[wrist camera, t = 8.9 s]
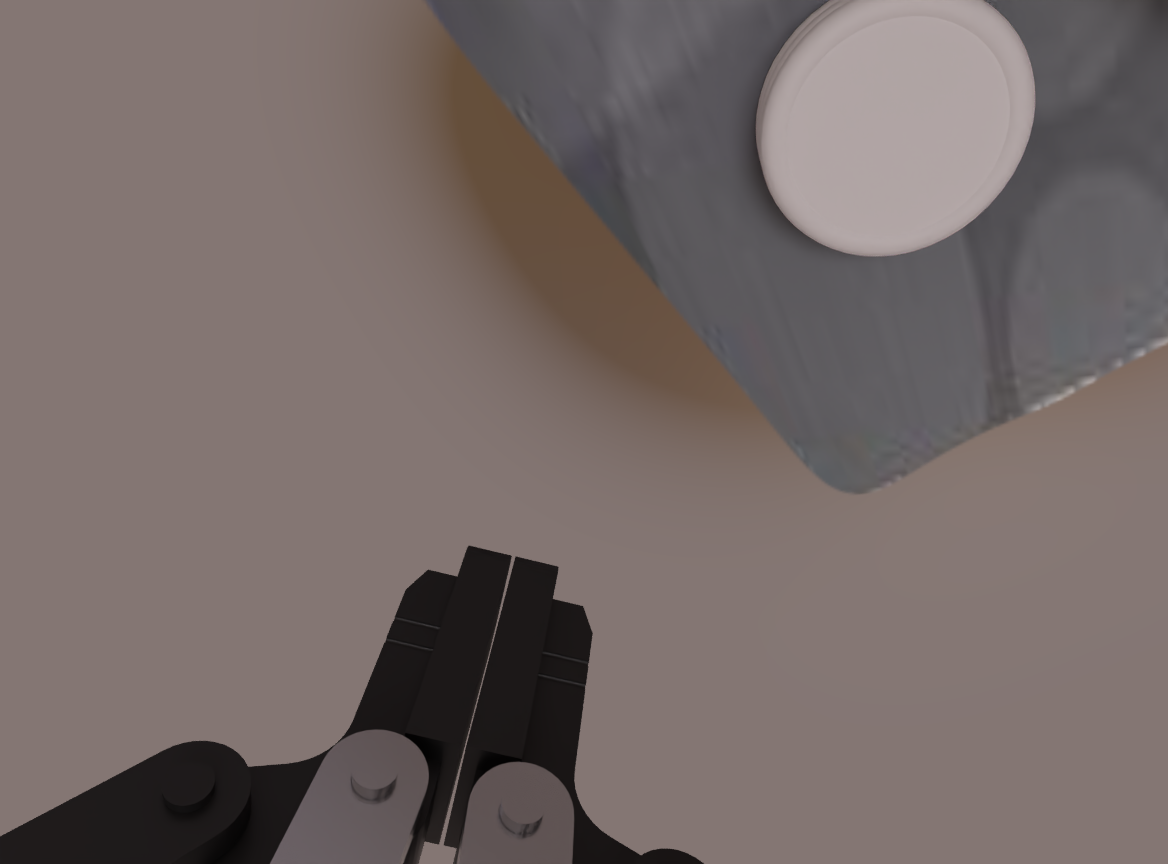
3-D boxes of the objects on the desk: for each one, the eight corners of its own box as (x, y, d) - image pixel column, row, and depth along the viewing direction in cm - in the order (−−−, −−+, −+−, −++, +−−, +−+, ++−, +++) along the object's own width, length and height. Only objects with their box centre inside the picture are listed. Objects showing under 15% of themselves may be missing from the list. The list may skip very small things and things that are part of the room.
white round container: (871, -84, 31) (891, -80, 28) (1066, 76, 33) (1102, 95, 30) (706, 147, 36) (708, 171, 33) (884, 273, 38) (900, 305, 35)
